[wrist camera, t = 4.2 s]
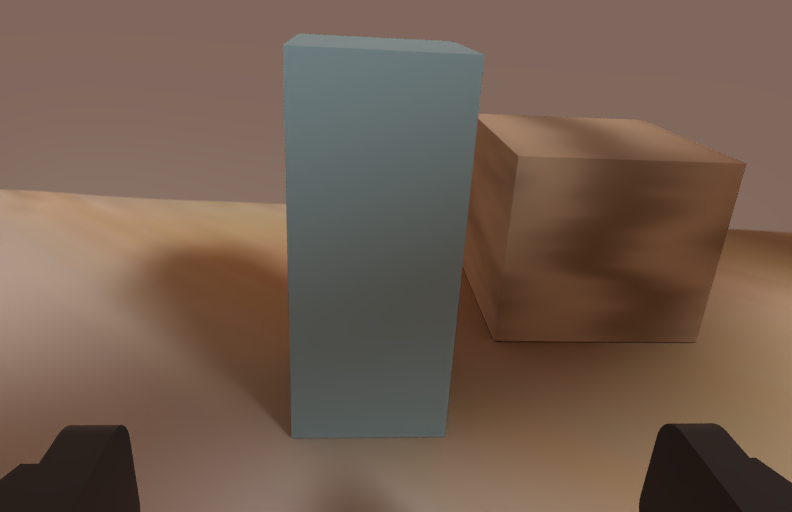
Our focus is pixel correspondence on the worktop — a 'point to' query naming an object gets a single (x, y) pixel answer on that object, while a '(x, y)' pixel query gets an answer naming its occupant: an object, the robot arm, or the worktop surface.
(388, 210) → the post
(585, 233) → the block
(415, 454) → the worktop surface
